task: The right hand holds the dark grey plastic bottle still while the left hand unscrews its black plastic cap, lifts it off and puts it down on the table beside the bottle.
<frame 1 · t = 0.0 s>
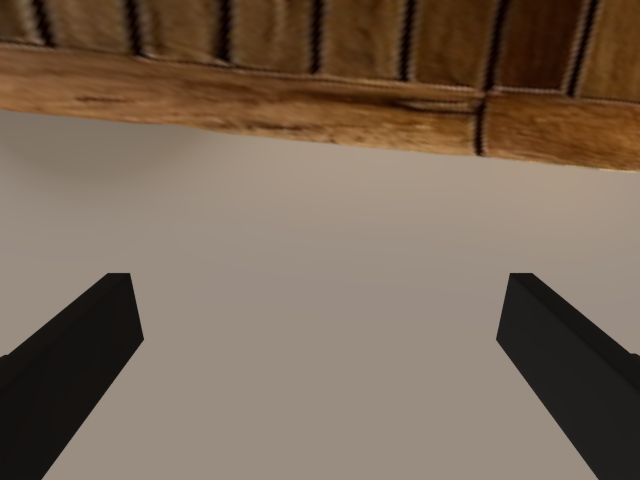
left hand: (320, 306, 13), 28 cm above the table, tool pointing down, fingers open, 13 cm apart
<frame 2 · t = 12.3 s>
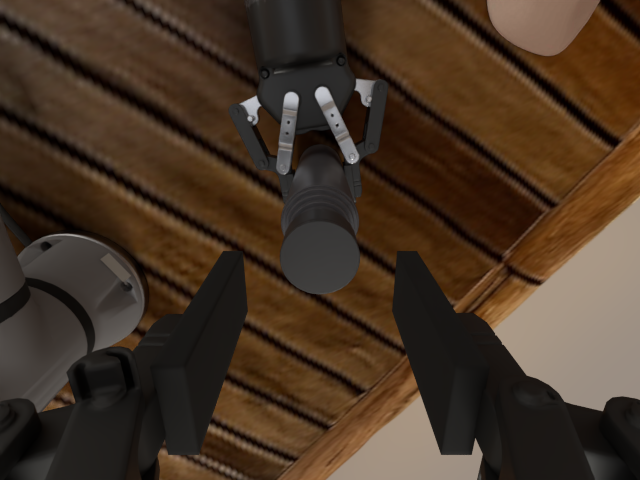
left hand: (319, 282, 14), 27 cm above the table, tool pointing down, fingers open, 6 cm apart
right hand: (324, 205, 35), fingers closed on bottle, 4 cm apart
bottle: (320, 165, 40), on the table, touching right hand
cap: (319, 256, 17), point 25 cm above the table, screwed on, not yet turned
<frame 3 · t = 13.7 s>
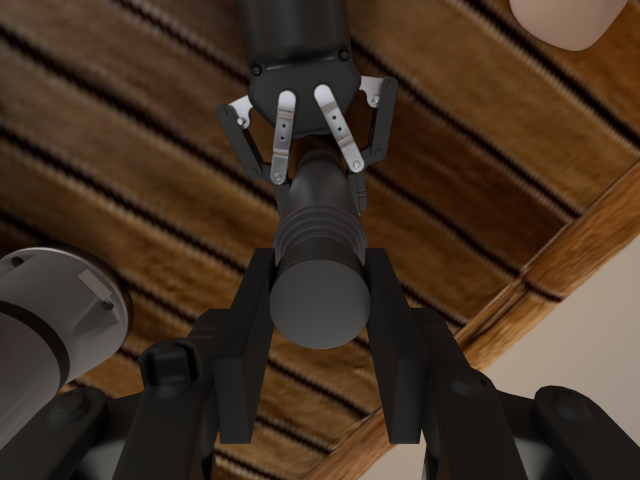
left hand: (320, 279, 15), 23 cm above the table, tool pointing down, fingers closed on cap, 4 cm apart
right hand: (325, 218, 31), fingers closed on bottle, 4 cm apart
bottle: (319, 172, 36), on the table, touching right hand
cap: (320, 302, 13), point 25 cm above the table, screwed on, not yet turned, touching left hand
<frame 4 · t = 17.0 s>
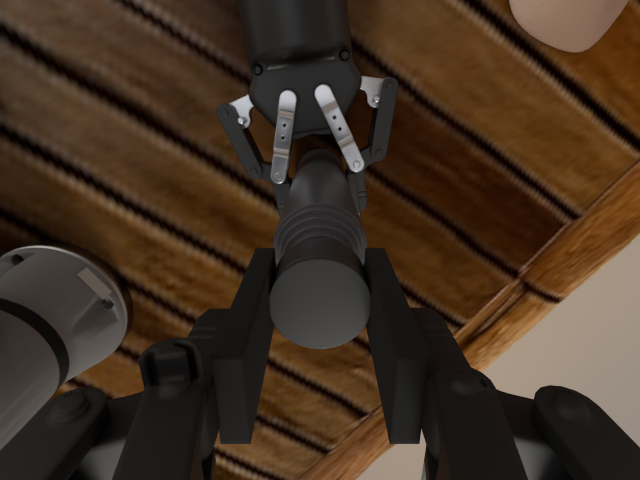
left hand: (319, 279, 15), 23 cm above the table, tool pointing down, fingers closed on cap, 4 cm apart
right hand: (324, 217, 31), fingers closed on bottle, 4 cm apart
bottle: (319, 172, 36), on the table, touching right hand
cap: (320, 302, 13), point 25 cm above the table, turned 108° so far, risen 0.1 cm, still on its thread, touching left hand
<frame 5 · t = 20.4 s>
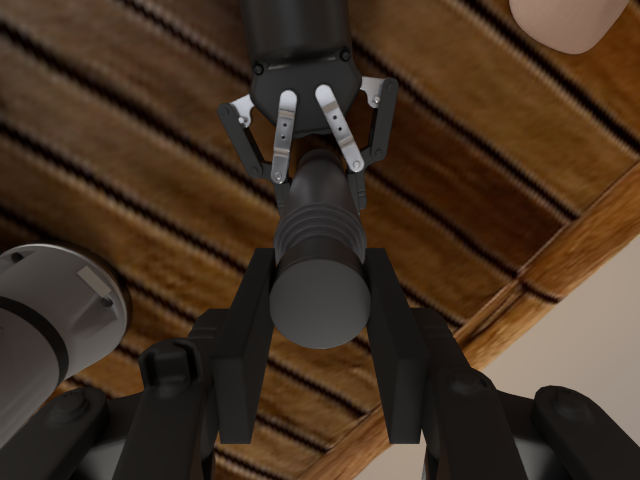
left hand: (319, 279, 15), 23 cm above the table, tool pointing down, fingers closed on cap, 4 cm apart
right hand: (324, 217, 31), fingers closed on bottle, 4 cm apart
bottle: (319, 172, 36), on the table, touching right hand
cap: (320, 302, 13), point 25 cm above the table, turned 216° so far, risen 0.2 cm, still on its thread, touching left hand
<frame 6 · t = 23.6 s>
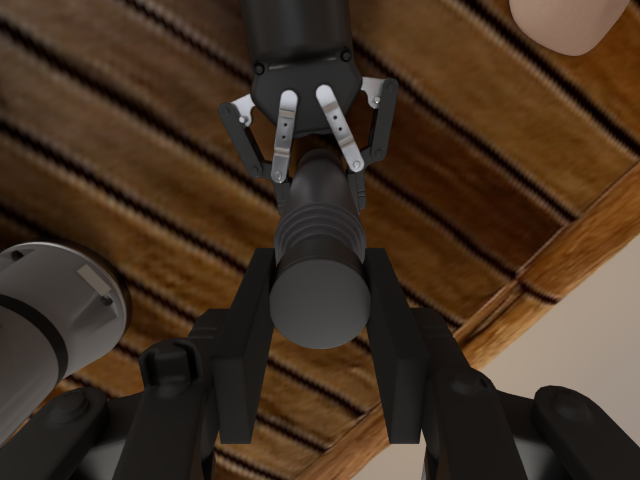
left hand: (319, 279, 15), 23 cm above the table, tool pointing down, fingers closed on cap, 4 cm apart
right hand: (324, 217, 31), fingers closed on bottle, 4 cm apart
bottle: (319, 172, 36), on the table, touching right hand
cap: (320, 302, 13), point 25 cm above the table, turned 325° so far, risen 0.3 cm, still on its thread, touching left hand
when the left hand's fingers open (1 cm above the table, at t = 30.5 s): cap stays where it is, point 2 cm above the table.
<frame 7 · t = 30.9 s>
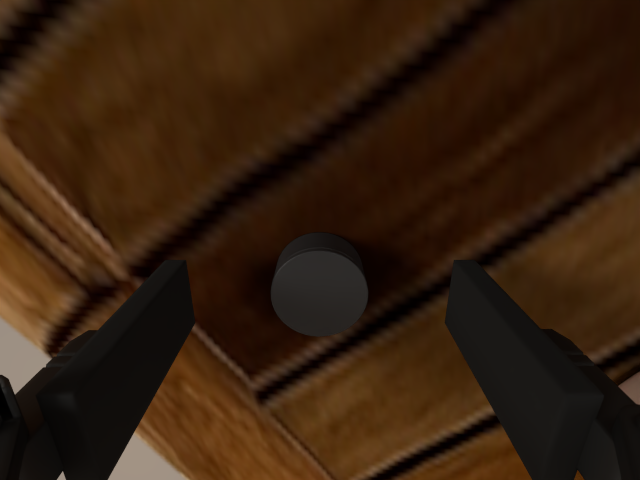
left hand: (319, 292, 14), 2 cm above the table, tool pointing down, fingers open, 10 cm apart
cap: (319, 292, 14), point 2 cm above the table, off its thread
when the right hand's fingers open (7 cm above the table, at t = 31.8 s): bottle stays where it is, on the table.
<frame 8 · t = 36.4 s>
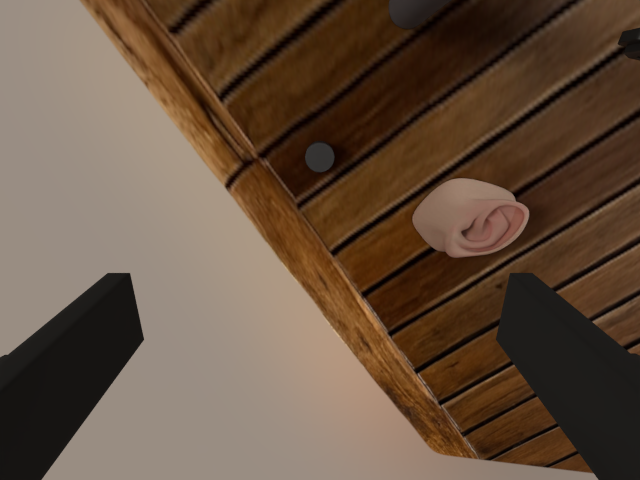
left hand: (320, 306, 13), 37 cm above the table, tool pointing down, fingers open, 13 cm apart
bottle: (408, 6, 42), on the table
anatomical model: (462, 216, 51), on the table
cap: (319, 157, 46), point 2 cm above the table, off its thread
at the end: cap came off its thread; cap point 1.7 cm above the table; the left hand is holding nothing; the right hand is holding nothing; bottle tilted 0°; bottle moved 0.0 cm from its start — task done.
